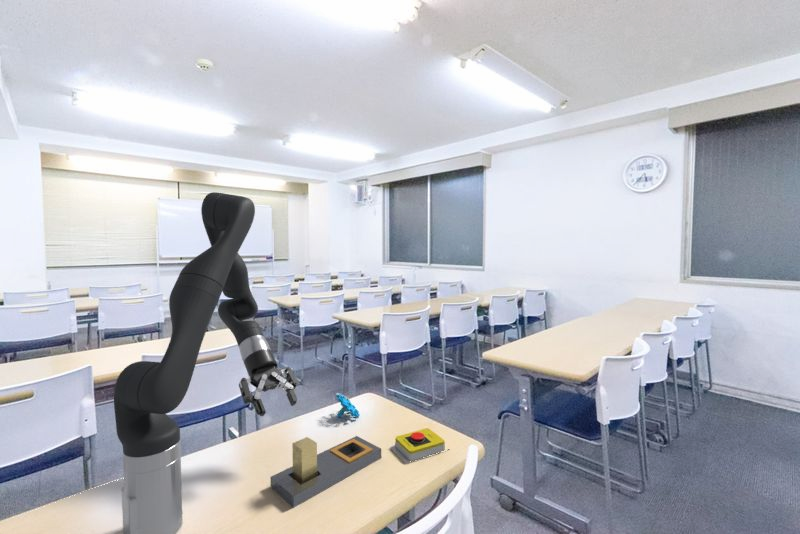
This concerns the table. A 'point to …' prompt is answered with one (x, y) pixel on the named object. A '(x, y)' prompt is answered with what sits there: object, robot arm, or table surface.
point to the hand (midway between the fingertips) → (279, 409)
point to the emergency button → (418, 445)
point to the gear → (347, 406)
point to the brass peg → (304, 460)
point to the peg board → (326, 470)
